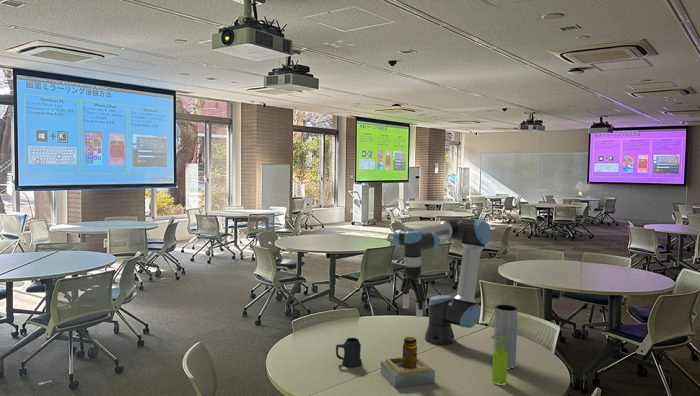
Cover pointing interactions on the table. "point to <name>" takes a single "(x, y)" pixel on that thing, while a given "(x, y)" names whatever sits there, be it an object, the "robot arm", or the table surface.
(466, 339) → the table surface
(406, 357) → the condiment
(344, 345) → the mug
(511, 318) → the vase
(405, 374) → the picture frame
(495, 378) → the soap dispenser
